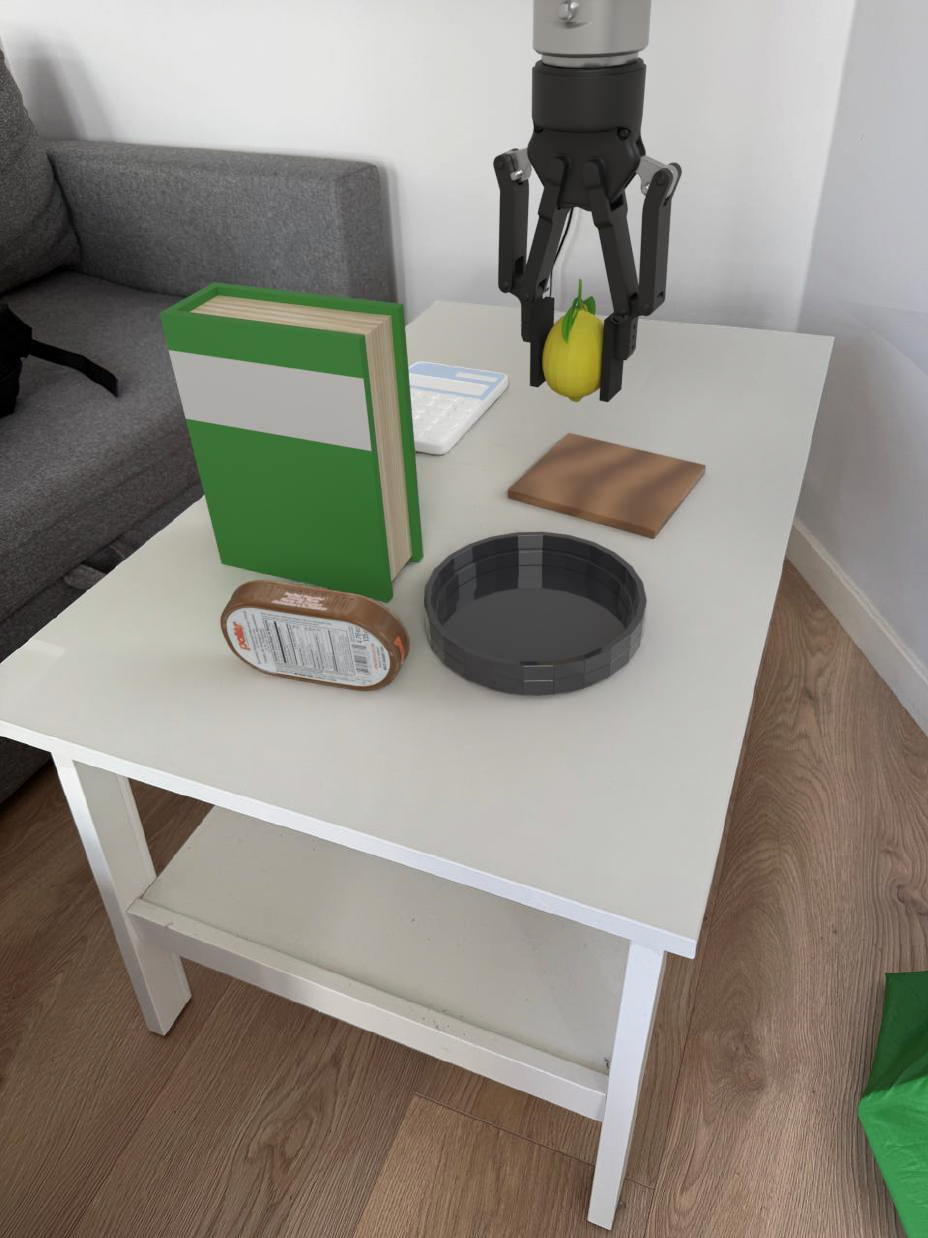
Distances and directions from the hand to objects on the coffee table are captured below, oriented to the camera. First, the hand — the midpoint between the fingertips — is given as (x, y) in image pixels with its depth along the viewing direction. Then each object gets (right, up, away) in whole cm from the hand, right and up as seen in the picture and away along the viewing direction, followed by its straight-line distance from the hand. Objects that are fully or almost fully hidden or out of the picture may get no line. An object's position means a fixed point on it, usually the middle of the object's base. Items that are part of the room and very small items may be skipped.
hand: (575, 386), depth 75 cm
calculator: (-13, +6, +36) cm, 38 cm away
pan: (-3, -19, +3) cm, 20 cm away
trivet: (+6, -5, +21) cm, 22 cm away
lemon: (0, -1, +1) cm, 2 cm away
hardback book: (-22, -14, +12) cm, 29 cm away
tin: (-21, -24, -1) cm, 31 cm away
